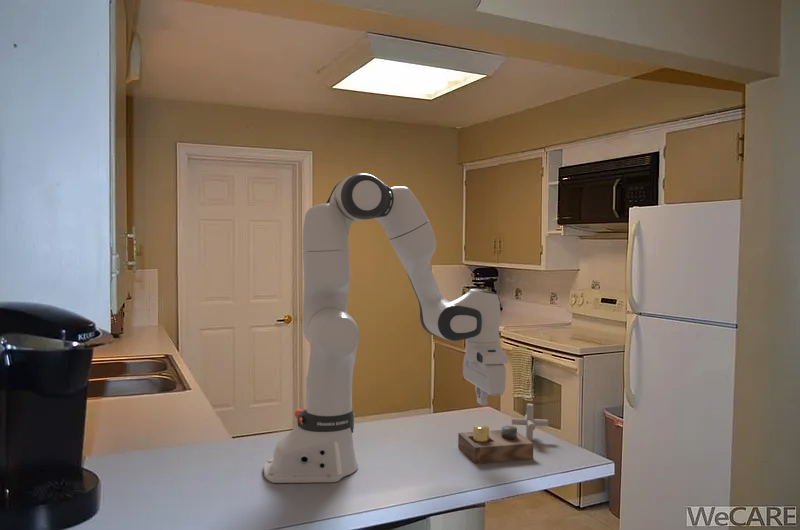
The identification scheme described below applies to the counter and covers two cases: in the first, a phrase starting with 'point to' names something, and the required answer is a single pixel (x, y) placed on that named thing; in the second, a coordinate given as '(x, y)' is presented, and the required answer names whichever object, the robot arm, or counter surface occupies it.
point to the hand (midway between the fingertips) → (482, 404)
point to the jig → (496, 446)
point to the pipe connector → (529, 422)
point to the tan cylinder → (480, 434)
